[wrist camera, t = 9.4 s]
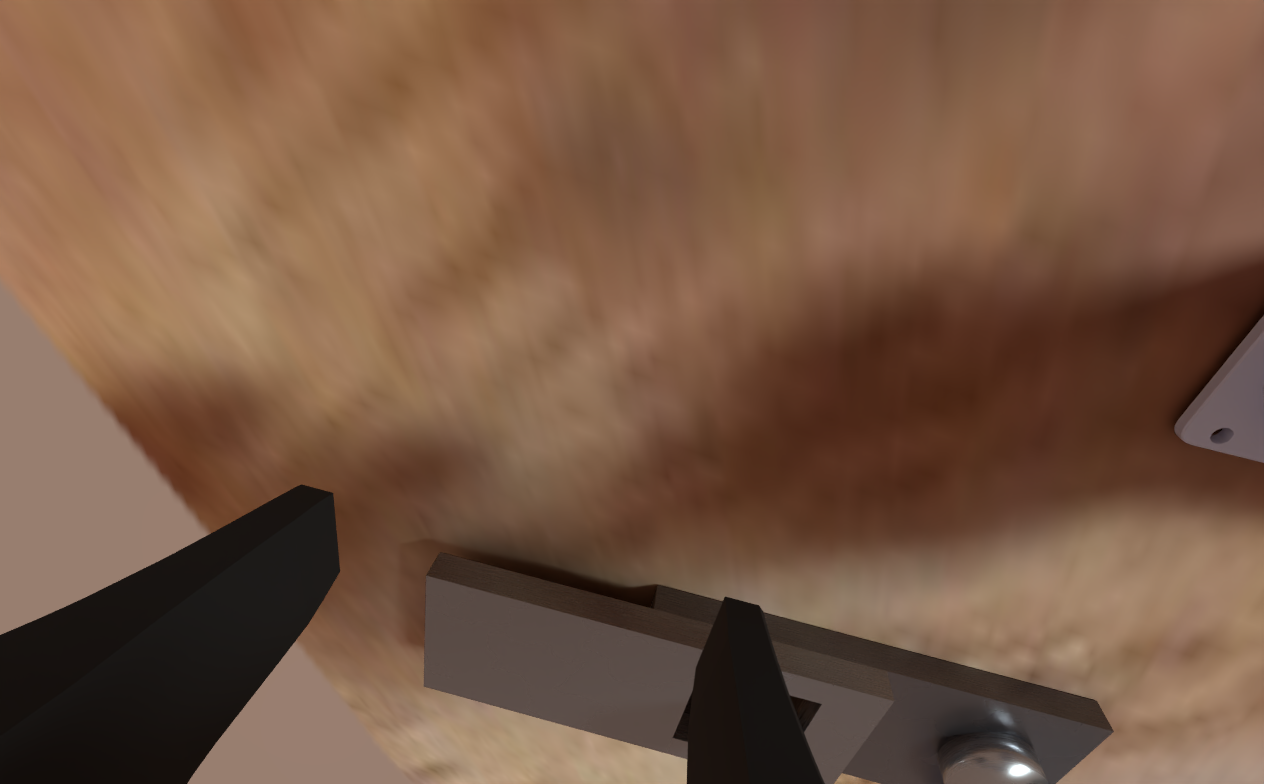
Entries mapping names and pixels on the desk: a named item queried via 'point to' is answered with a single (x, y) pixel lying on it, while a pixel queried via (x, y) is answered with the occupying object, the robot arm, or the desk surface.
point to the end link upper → (615, 663)
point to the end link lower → (941, 712)
